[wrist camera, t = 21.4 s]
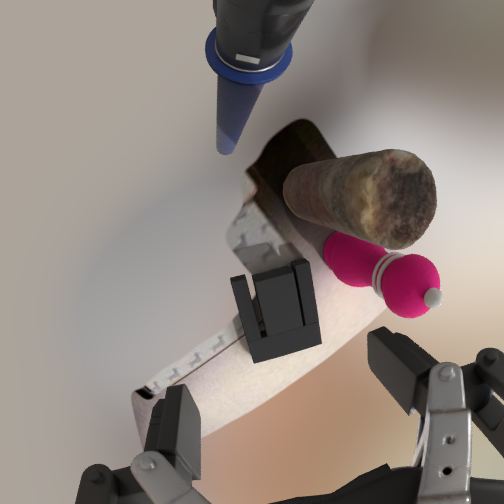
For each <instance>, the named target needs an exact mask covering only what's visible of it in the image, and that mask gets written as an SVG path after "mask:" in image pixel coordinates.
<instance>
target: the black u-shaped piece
mask: <svg viewBox="0 0 504 504" xmlns="http://www.w3.org/2000/svg"><path fill="white" fill-rule="evenodd" d="M291 265H292V270H293V273H294V278H295V284H296V289H297V294H298V300H299V305H300V311H301V317H302V323H303V326H302V327H299V328H295V329H292V330H289V331H285V332H282V333H278V334H275V335H271V336H267V333H266V330H264V331H259V327H258V323H257V319H256V315H255V311H254V307H253V303H252V299H251V295H250V292H249V288H248V284H247V280H246V277H245V274H244V275H240V276H236V277H232V278H230V280H231V285H232V288H233V292H234V296H235V300H236V303H237V307H238V310H239V314H240V318H241V321H242V325H243V328H244V332H245V335H246V339H247V342H248V346H249V349H250V352H251V356H252V359H253V363H254V364H255V363H258V362H262V361H266V360H270V359H273V358H277V357H280V356H284V355H287V354H291V353H294V352H297V351H300V350H304V349H307V348H310V347H313V346H316V345H319V344H322V341H321V334H320V327H319V319H318V313H317V306H316V299H315V293H314V287H313V281H312V275H311V269H310V263H309V261H307V260H306V259H305V258H304V259H300V260H296V261H293V262H291Z"/></svg>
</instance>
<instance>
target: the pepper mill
mask: <svg viewBox="0 0 504 504" xmlns="http://www.w3.org/2000/svg"><path fill="white" fill-rule="evenodd" d="M323 255H324V260H325V262H326V264H327V266H328V267H329V268H330V269H331V270H333V272H334V274H335V275H336V277H337V278H338V279H339V280H340V281H342V282H343V283H345V284H347V285H350V286H354V287H366V286H371V287H373V289H374V291H375V293H376V294H377V295H378V296H379V297H381V298H382V299H384V300H385V303H386V305H387V306H388V308H389V309H390V310H391V311H392V312H393V313H395V314H397V315H398V316H401V317H404V318H416V317H419V316H421V315H423V314H425V313H426V312H427V311H428V310H429V309H430V308H432V309H433V308H437V307H438V306H439V305H440V304H441V303H442V299H443V296H442V293H441V291H440V290H439V289H440V278H439V274H438V271H437V269H436V267H435V266H434V264H433V263H432V262H431V261H430V260H428V259H427V258H425V257H423V256H420V255H417V254H409V255H404V254H401V253H398V252H392V253H387V252H386V251H385V250H384V248H383V247H381V246H378V245H375V244H372V243H369V242H367V241H364V240H362V239H359V238H356V237H353V236H350V235H348V234H345V233H342V232H339V231H336V232H335V233H333V234H332V235H331V236H330V237H329V238H328V239H327V241H326V243H325V246H324V252H323Z"/></svg>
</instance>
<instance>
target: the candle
mask: <svg viewBox="0 0 504 504" xmlns="http://www.w3.org/2000/svg"><path fill="white" fill-rule="evenodd" d="M283 196H284V200H285V202H286V204H287V206H288V207H289V209H290V210H291V211H292V213H294V214H295V215H296V216H297V217H299V218H301V219H304V220H306V221H309V222H312V223H315V224H318V225H321V226H324V227H328V228H331V229H334V230H336V231H339V232H342V233H345V234H348V235H350V236H353V237H356V238H359V239H362V240H364V241H367V242H369V243H372V244H375V245H378V246H381V247H384V248H387V249H391V250H399V249H405V248H407V247H409V246H411V245H412V244H414V242H415V241H417V240H418V239H419V238H420V237H421V236H422V235H423V234H424V232H425V231H426V229H427V228H428V226H429V224H430V223H431V221H432V219H433V217H434V215H435V211H436V207H437V197H436V186H435V181H434V178H433V175H432V172H431V170H430V169H429V168H428V167H427V166H426V164H425V163H424V162H423V161H422V160H421V159H419V158H418V157H417V156H416V155H415V154H413V153H410V152H407V151H404V150H396V149H387V150H382V151H377V152H369V153H364V154H359V155H352V156H346V157H340V158H336V159H330V160H324V161H318V162H313V163H308V164H303V165H300V166H297V167H295V168H294V169H292V171H291V172H290V173H289V174H288V176H287V178H286V179H285V181H284V184H283Z"/></svg>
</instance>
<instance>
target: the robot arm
mask: <svg viewBox="0 0 504 504" xmlns="http://www.w3.org/2000/svg"><path fill="white" fill-rule="evenodd" d="M313 2H314V0H213V9H214V12H215V16H216V17H217V18H216V39H215V52H216V55H217V57H218V58H219V60H220V61H221V62H222V63H223V64H224V65H225V66H227V67H228V68H230V69H232V70H234V71H237V72H240V73H245V74H258V73H263V72H266V71H269V70H271V69H272V68H274V67H275V66H276V65H278V63H279V62H280V61H281V59H282V57H283V55H284V53H285V50H286V49H287V47H288V45H289V43H290V42H291V40H292V38H293V36H294V34H295V33H296V31H297V29H298V28H299V26H300V24H301V22H302V21H303V19H304V17H305V16H306V14H307V12H308V11H309V9H310V7H311V5H312V4H313ZM367 341H368V343H367V345H368V364H369V367H370V369H371V371H372V372H373V373H374V375H375V376H376V377H377V378H378V379H379V381H380V382H381V383H382V384H383V385H384V387H385V388H386V389H387V390H388V391H389V393H390V394H391V395H392V396H393V397H394V399H395V400H396V401H397V402H398V403H399V405H400V406H401V407H402V408H403V409H404V411H405V412H406V413H407V414H408V415H409V416H410V415H411V414H413V413H415V412H417V411H418V412H419V414H420V418H419V425H418V432H417V439H416V446H415V451H414V456H413V459H412V463H411V466H407V467H398V468H393V469H390V467H389V466H388V464H387V463H386V464H384V465H382V466H380V467H378V468H376V469H373V470H371V471H369V472H367V473H364V474H362V475H360V476H358V477H357V478H355V479H354V480H352V481H351V482H349V483H348V484H346V485H344V486H343V487H341V488H340V489H338V490H336V491H335V492H333V493H330V494H324V495H316V496H305V497H295V498H292V499H287V500H284V501H279V502H274V503H270V504H504V480H494V479H484V478H475V477H470V474H471V457H472V421H473V422H474V423H475V425H476V426H477V427H478V428H479V429H480V430H481V431H482V433H483V434H484V435H485V436H486V437H487V438H488V440H489V441H490V442H491V443H492V444H493V445H494V447H495V448H496V449H497V450H498V451H499V453H500V454H501V455H502V456H503V458H504V405H503V404H502V403H501V402H500V401H499V400H498V399H497V398H496V397H495V396H494V395H493V392H495V393H496V394H497V395H499V396H500V397H501V398H502V399H503V400H504V353H503V352H501V351H500V350H498V349H495V348H485V349H483V350H481V351H480V352H479V353H478V354H477V357H476V361H475V362H473V363H470V364H468V365H465V366H461V367H459V366H458V365H457V364H455V363H452V362H442V363H439V362H438V361H437V360H436V359H434V358H433V357H432V356H431V355H430V354H428V353H427V352H426V351H425V350H424V349H422V348H421V347H419V345H417V344H416V343H414V341H413V340H411V339H410V338H409V337H408V336H406V335H403V334H400V333H397V332H396V333H394V334H393V333H392V332H391V331H389V330H388V329H387V328H386V327H384V326H383V327H380V328H378V329H376V330H373V331H371V332H369V333H368V335H367ZM149 424H150V426H149V428H148V433H147V438H146V443H145V448H144V452H143V453H141V454H139V455H137V456H136V457H135V458H134V459H133V461H132V463H131V466H129V467H126V468H121V469H118V470H113V471H111V470H110V469H109V468H108V467H107V466H105V465H103V464H94V465H91V466H90V467H88V468H87V469H86V470H85V471H84V472H83V474H82V477H81V481H80V485H79V489H78V493H77V498H76V502H75V504H211V503H210V502H209V501H208V500H207V499H206V498H205V497H203V496H202V495H201V494H200V493H199V492H198V491H197V490H196V489H194V488H193V487H192V480H200V479H201V447H200V446H201V417H200V413H199V410H198V408H197V406H196V404H195V402H194V400H193V398H192V396H191V394H190V392H189V390H188V388H187V386H186V385H185V384H181V385H175V386H169V387H167V391H166V396H165V399H159V400H158V402H157V403H156V404H155V406H154V407H153V410H152V414H151V419H150V423H149Z"/></svg>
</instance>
